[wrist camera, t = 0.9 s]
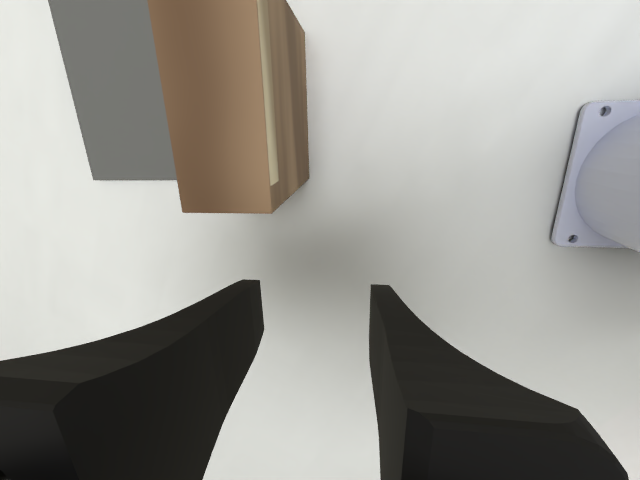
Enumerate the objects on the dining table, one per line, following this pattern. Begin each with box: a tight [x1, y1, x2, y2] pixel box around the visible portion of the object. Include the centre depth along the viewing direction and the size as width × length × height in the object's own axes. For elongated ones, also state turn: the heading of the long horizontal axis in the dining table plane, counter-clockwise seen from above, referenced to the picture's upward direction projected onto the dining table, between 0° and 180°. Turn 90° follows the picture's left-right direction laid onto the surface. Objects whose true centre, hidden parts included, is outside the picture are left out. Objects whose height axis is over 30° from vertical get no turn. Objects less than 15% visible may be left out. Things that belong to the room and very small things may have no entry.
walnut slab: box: [147, 0, 309, 214], centre depth 15 cm, size 4×8×9 cm, turn 0°
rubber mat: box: [48, 0, 177, 180], centre depth 19 cm, size 10×12×1 cm
